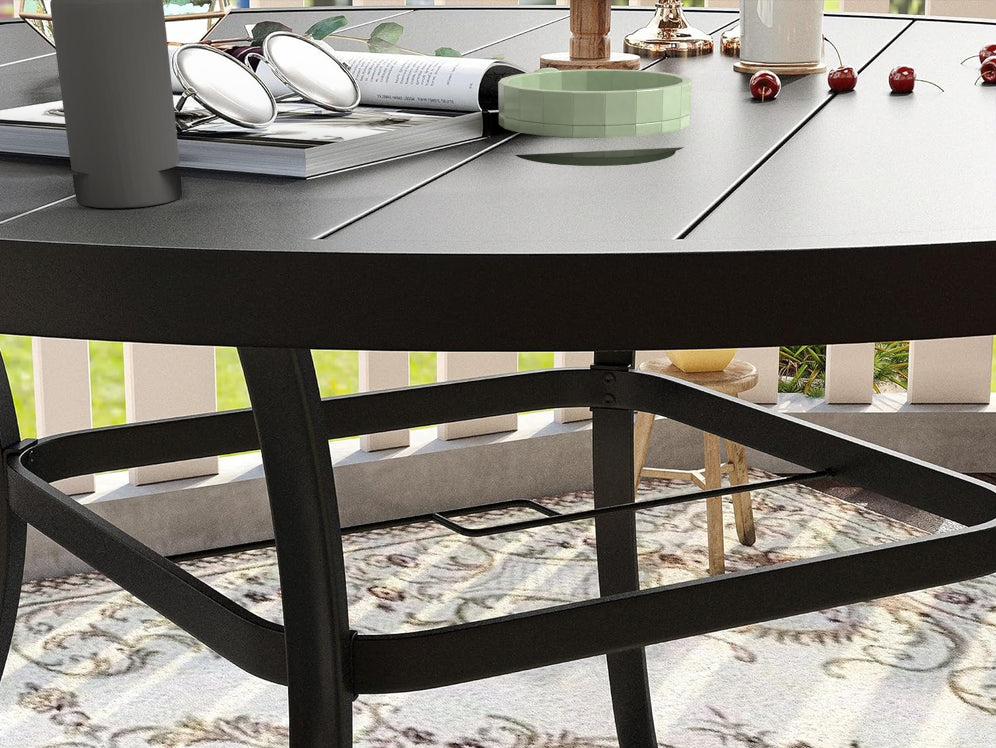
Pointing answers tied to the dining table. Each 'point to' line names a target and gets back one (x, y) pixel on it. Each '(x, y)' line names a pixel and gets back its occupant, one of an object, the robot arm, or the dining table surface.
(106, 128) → the bottle
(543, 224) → the dining table surface
